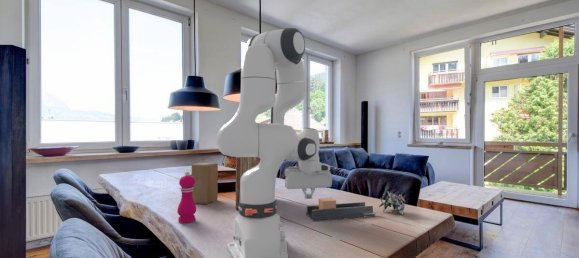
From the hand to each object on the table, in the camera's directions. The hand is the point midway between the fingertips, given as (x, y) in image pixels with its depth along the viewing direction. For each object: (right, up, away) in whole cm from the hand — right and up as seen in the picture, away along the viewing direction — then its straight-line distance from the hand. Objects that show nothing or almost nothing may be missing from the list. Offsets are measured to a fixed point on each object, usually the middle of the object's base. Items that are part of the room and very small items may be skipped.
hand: (308, 198), depth 112 cm
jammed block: (+8, -7, +2) cm, 11 cm away
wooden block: (-52, -9, +25) cm, 59 cm away
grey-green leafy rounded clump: (+38, -9, +6) cm, 40 cm away
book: (-26, -9, +22) cm, 35 cm away
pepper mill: (-50, -8, -5) cm, 51 cm away
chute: (+14, -8, +3) cm, 17 cm away
